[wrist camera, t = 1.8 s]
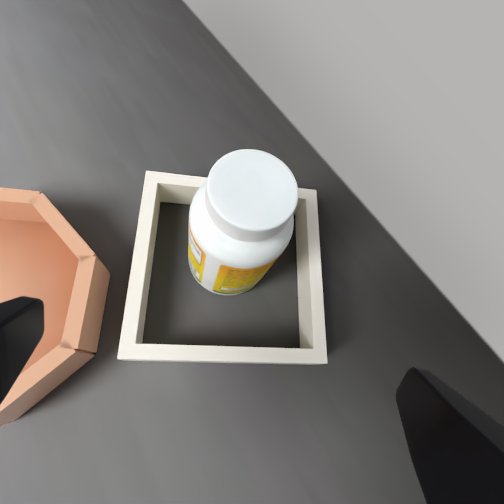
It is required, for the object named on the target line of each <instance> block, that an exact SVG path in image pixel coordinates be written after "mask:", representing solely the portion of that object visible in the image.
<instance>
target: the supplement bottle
mask: <svg viewBox="0 0 504 504" xmlns="http://www.w3.org/2000/svg"><path fill="white" fill-rule="evenodd" d="M297 202H298V186H297V182H296V180H295V177H294V176H293V174H292V172H291V171H290V169H289V168H288V167H287V166H286V165H285V164H284V163H283V162H282V161H281V160H279V159H278V158H276V157H275V156H273V155H271V154H269V153H266V152H264V151H260V150H253V149H242V150H237V151H233V152H230V153H228V154H226V155H225V156H223V157H222V158H220V159H219V160H218V161H217V162H216V163H215V164H214V166H213V167H212V169H211V171H210V173H209V176H208V179H207V181H206V182H205V183H203V184H202V185H201V187H200V188H199V189H198V190H197V192H196V193H195V195H194V197H193V200H192V203H191V206H190V212H189V243H188V260H189V266H190V269H191V272H192V274H193V276H194V277H195V279H196V280H197V281H198V282H199V283H200V284H201V285H202V286H203V287H204V288H206V289H207V290H209V291H211V292H213V293H216V294H220V295H236V294H240V293H243V292H246V291H248V290H249V289H251V288H252V287H254V286H255V285H256V284H257V283H258V282H259V281H260V280H261V278H262V277H263V276H264V274H265V273H266V272H267V271H268V269H269V268H270V267H271V266H272V265H273V263H274V262H275V261H276V260H277V258H278V257H279V256H280V255H281V254H282V252H283V251H284V250H285V248H286V247H287V245H288V243H289V241H290V239H291V236H292V233H293V227H294V216H293V213H294V211H295V208H296V206H297Z"/></svg>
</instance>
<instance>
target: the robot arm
mask: <svg viewBox="0 0 504 504" xmlns="http://www.w3.org/2000/svg"><path fill="white" fill-rule="evenodd" d="M44 328H45V326H44V303H43V301H42V300H41V299H38V298H33V297H28V296H20V297H17V298H14V299H11V300H8V301H5V302H2V303H0V404H1V403H2V402H3V400H4V399H5V397H6V396H7V394H8V393H9V391H10V389H11V388H12V386H13V384H14V383H15V381H16V380H17V378H18V376H19V375H20V373H21V371H22V370H23V368H24V366H25V365H26V363H27V362H28V360H29V358H30V357H31V355H32V353H33V352H34V350H35V348H36V347H37V345H38V344H39V342H40V340H41V339H42V336H43V333H44ZM396 401H397V405H398V409H399V413H400V417H401V421H402V425H403V429H404V433H405V436H406V440H407V444H408V448H409V452H410V455H411V459H412V462H413V465H414V468H415V471H416V474H417V477H418V480H419V483H420V486H421V488H422V491H423V494H424V497H425V500H426V503H427V504H504V427H503V426H502V425H501V424H499V423H498V422H497V421H495V420H494V419H493V418H491V417H490V416H489V415H487V414H486V413H485V412H483V411H482V410H481V409H479V408H478V407H477V406H475V405H474V404H473V403H471V402H470V401H469V400H467V399H466V398H465V397H463V396H462V395H461V394H459V393H458V392H457V391H455V390H454V389H453V388H451V387H450V386H449V385H447V384H446V383H445V382H443V381H442V380H441V379H439V378H438V377H436V376H435V375H434V374H432V373H431V372H430V371H428V370H426V369H420V368H415V367H413V368H410V369H409V370H408V371H407V372H406V374H405V376H404V378H403V380H402V381H401V383H400V385H399V387H398V388H397V391H396Z"/></svg>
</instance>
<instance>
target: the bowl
mask: <svg viewBox="0 0 504 504" xmlns="http://www.w3.org/2000/svg"><path fill="white" fill-rule="evenodd" d="M109 280H110V272H109V271H108V269H107V268H106V267H105V266H104V264H103V263H102V262H101V261H100V259H99V258H98V257H97V255H96V254H95V253H94V252H93V251H92V250H91V248H90V247H89V246H88V245H87V244H86V243H85V241H84V240H83V239H82V238H81V237H80V236H79V234H78V233H77V232H76V231H75V230H74V229H73V228H72V226H71V225H70V224H69V223H68V222H67V221H66V219H65V218H64V217H63V216H62V215H61V214H60V212H59V211H58V210H57V209H56V208H55V207H54V206H53V204H52V203H51V202H50V201H49V200H48V199H47V197H46V196H45V195H44V194H43V193H41V192H40V191H30V190H20V189H10V188H0V303H2V302H5V301H8V300H11V299H14V298H17V297H20V296H28V297H33V298H38V299H41V300H42V301H43V303H44V326H45V328H44V333H43V336H42V339H41V340H40V342H39V344H38V345H37V347H36V348H35V350H34V352H33V353H32V355H31V357H30V358H29V360H28V362H27V363H26V365H25V366H24V368H23V370H22V371H21V373H20V375H19V376H18V378H17V380H16V381H15V383H14V384H13V386H12V388H11V389H10V391H9V393H8V394H7V396H6V397H5V399H4V400H3V402H2V403H1V404H0V425H3V424H6V423H10V422H12V421H15V420H17V419H18V418H19V417H20V416H22V415H23V414H24V413H25V412H26V411H28V410H29V409H30V408H31V407H33V406H34V405H35V404H36V403H37V402H39V401H40V400H41V399H42V398H44V397H45V396H46V395H47V394H48V393H50V392H51V391H52V390H53V389H55V388H56V387H57V386H58V385H59V384H61V383H62V382H63V381H64V380H66V379H67V378H68V377H69V376H70V375H72V374H73V373H74V372H75V371H77V370H78V369H79V368H80V367H81V366H83V365H84V364H85V363H86V362H88V361H89V360H90V359H91V358H92V357H94V356H95V355H94V354H93V353H97V347H98V342H99V336H100V330H101V325H102V319H103V313H104V308H105V302H106V296H107V291H108V285H109Z"/></svg>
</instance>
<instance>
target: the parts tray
mask: <svg viewBox="0 0 504 504" xmlns="http://www.w3.org/2000/svg"><path fill="white" fill-rule="evenodd" d="M207 179H208V178H206V177H197V176H188V175H179V174H171V173H162V172H153V171H146V175H145V181H144V188H143V194H142V201H141V207H140V214H139V220H138V227H137V233H136V240H135V246H134V252H133V259H132V265H131V272H130V278H129V285H128V291H127V298H126V304H125V311H124V317H123V324H122V330H121V336H120V343H119V349H118V356H117V359H120V360H125V361H164V362H210V363H257V364H303V365H315V364H327V349H326V333H325V318H324V302H323V286H322V271H321V255H320V240H319V224H318V208H317V193H316V190H311V189H302V188H298V202H297V206H296V208H295V211H294V213H293V215H295V225H296V253H297V281H298V309H299V337H300V348H267V347H234V346H200V345H167V344H142V340H143V332H144V325H145V317H146V309H147V302H148V294H149V286H150V279H151V271H152V263H153V256H154V248H155V241H156V233H157V225H158V218H159V210H160V202H169V203H179V204H189V205H191V203H192V200H193V197H194V195H195V193H196V192H197V190H198V189H199V188H200V187H201V185H202V184H203V183H205V182H206V181H207Z"/></svg>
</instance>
